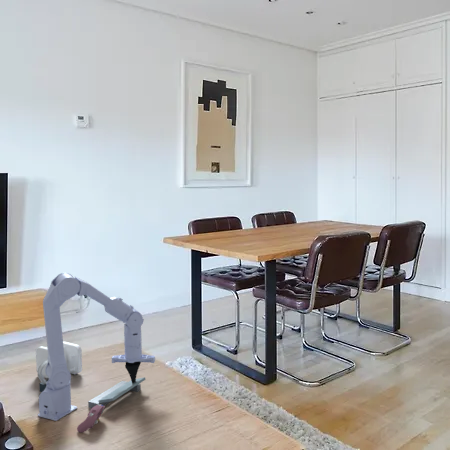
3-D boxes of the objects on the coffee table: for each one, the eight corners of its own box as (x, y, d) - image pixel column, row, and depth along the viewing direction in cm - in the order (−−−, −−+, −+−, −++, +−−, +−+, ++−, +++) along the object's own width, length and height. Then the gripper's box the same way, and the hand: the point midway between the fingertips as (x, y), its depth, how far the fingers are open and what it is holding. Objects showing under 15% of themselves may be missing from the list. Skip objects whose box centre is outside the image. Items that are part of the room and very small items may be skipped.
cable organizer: (34, 376, 185) (33, 346, 184) (57, 366, 194) (56, 338, 193) (61, 384, 178) (60, 353, 176) (84, 374, 187) (83, 344, 185)
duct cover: (113, 400, 155) (112, 398, 155) (98, 403, 157) (98, 400, 157) (145, 379, 171) (145, 377, 171) (132, 381, 173) (131, 379, 173)
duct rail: (107, 412, 156) (107, 405, 156) (88, 407, 159) (88, 400, 159) (140, 390, 172) (140, 383, 172) (122, 386, 175) (122, 380, 175)
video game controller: (88, 439, 143) (98, 418, 142) (74, 431, 143) (84, 411, 142) (100, 422, 153) (109, 403, 152) (87, 415, 153) (96, 396, 152)
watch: (64, 389, 173) (63, 359, 172) (44, 397, 167) (43, 366, 166) (54, 385, 176) (53, 355, 175) (34, 393, 170) (33, 362, 169)
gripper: (108, 348, 163) (110, 387, 164) (152, 348, 163) (153, 387, 164) (114, 341, 170) (115, 378, 171) (155, 341, 170) (156, 378, 171)
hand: (134, 382), depth 168 cm, fingers closed, pressing on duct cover
